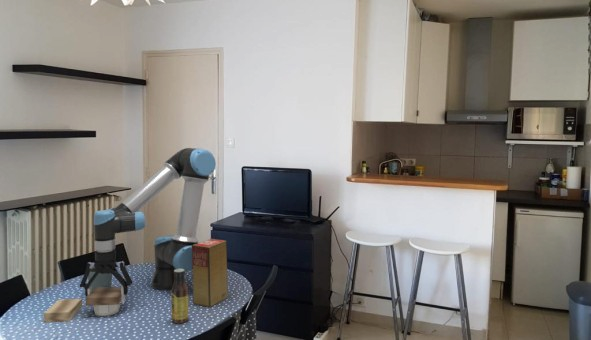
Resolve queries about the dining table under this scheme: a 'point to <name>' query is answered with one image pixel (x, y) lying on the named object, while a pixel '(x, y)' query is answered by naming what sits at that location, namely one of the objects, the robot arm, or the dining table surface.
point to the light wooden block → (63, 310)
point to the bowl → (106, 309)
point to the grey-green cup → (100, 279)
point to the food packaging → (209, 272)
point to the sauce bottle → (179, 297)
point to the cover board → (104, 296)
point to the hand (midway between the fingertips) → (106, 303)
